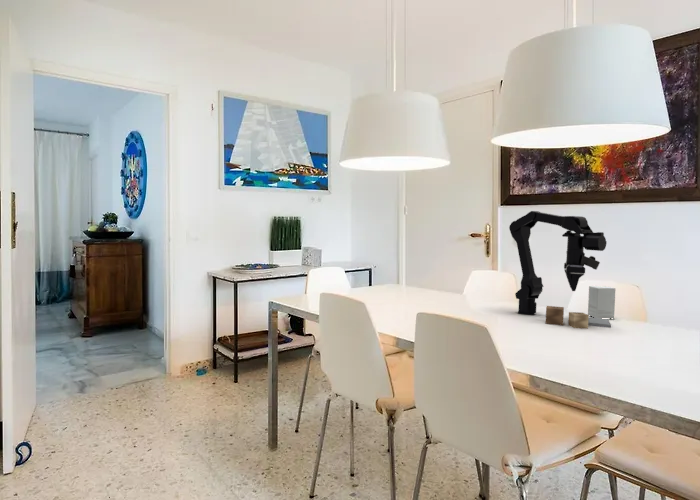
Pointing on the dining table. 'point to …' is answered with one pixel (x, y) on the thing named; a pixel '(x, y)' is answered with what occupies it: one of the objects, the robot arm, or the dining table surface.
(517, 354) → the dining table surface
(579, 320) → the oak cube
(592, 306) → the supplement box
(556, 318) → the walnut cube
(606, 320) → the plate
